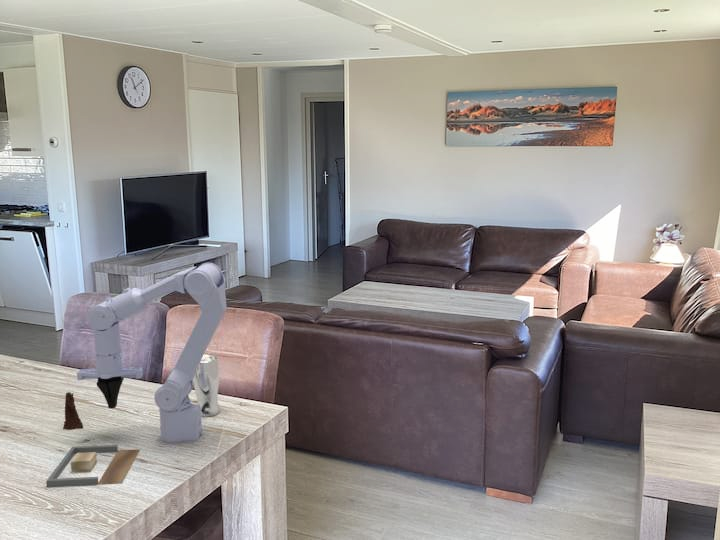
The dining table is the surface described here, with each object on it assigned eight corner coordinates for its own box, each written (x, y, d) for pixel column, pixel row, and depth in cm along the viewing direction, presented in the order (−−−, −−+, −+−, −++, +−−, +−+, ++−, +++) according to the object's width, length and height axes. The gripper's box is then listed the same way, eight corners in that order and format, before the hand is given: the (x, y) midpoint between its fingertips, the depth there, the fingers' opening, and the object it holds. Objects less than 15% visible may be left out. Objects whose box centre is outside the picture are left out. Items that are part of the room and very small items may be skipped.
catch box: (118, 455, 146) (117, 444, 145) (97, 490, 131) (96, 478, 130) (73, 457, 145) (72, 446, 144) (47, 492, 130) (46, 481, 130)
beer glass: (224, 407, 172) (222, 354, 169) (216, 418, 165) (213, 363, 162) (199, 406, 173) (196, 353, 170) (190, 417, 166) (187, 362, 163)
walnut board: (140, 454, 146) (140, 449, 146) (122, 489, 131) (122, 483, 131) (118, 455, 146) (117, 450, 145) (97, 490, 131) (97, 484, 131)
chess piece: (67, 436, 155) (63, 398, 153) (59, 430, 159) (55, 392, 157) (86, 430, 158) (82, 392, 156) (78, 424, 162) (74, 387, 160)
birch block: (97, 466, 140) (95, 452, 139) (91, 476, 136) (89, 461, 136) (78, 467, 140) (77, 452, 139) (72, 476, 136) (70, 461, 135)
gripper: (70, 358, 145) (75, 414, 147) (135, 356, 146) (139, 412, 149) (80, 349, 152) (85, 402, 154) (143, 347, 153) (146, 400, 156)
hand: (112, 406), depth 152 cm, fingers closed
